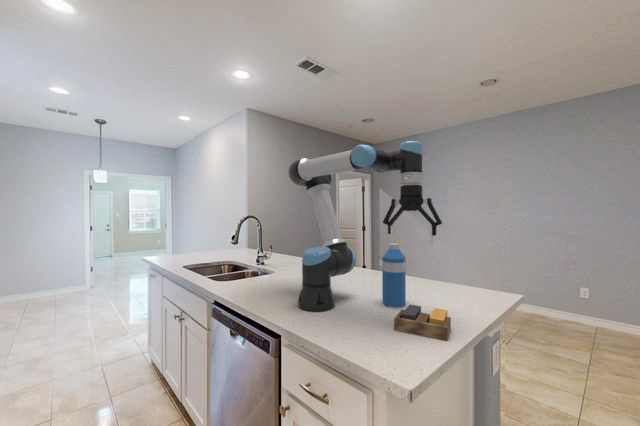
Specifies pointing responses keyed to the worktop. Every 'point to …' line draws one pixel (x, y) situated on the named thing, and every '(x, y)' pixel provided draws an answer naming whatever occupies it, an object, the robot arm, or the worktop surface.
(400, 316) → the bronze desk organizer
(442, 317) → the tall orange brick
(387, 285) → the blue water bottle
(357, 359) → the worktop surface
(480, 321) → the worktop surface
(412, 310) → the tall gray prism
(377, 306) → the worktop surface
